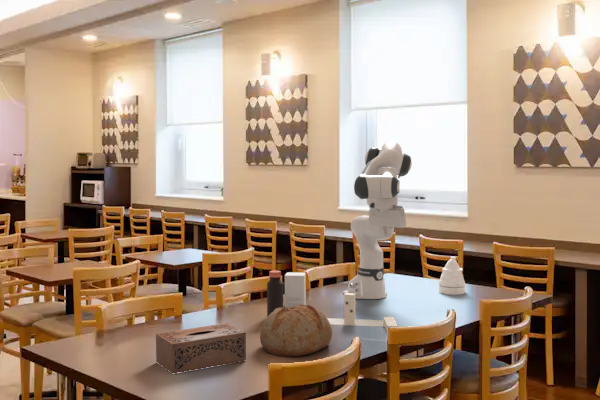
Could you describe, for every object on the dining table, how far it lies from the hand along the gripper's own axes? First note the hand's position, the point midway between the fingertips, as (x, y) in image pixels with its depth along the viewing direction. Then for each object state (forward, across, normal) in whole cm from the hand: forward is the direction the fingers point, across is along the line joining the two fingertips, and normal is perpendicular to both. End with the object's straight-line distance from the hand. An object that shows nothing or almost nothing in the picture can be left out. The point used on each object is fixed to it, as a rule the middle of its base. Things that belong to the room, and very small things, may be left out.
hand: (387, 236), depth 289 cm
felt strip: (+33, -6, +25) cm, 42 cm away
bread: (+33, -22, +63) cm, 74 cm away
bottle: (+33, +18, +46) cm, 60 cm away
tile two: (+33, -7, +27) cm, 43 cm away
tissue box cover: (+33, -17, +98) cm, 105 cm away
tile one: (+31, -18, +16) cm, 39 cm away
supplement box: (+33, +32, +26) cm, 53 cm away
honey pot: (+34, +14, -56) cm, 66 cm away
